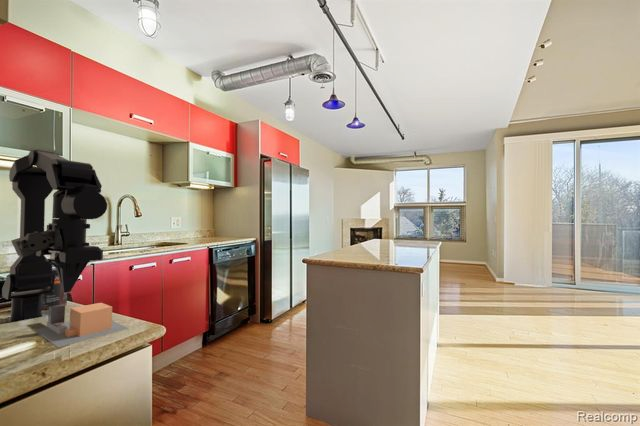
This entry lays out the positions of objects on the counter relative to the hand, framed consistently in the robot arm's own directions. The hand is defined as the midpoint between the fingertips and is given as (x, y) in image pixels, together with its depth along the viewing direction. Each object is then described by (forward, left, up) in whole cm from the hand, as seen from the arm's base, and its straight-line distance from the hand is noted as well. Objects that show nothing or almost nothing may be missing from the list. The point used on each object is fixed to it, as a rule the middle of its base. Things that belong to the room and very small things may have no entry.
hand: (66, 292), depth 64 cm
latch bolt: (-10, 0, -8) cm, 13 cm away
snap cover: (-1, +5, -10) cm, 11 cm away
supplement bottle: (-33, +7, -11) cm, 36 cm away
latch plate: (-3, +4, -11) cm, 12 cm away
